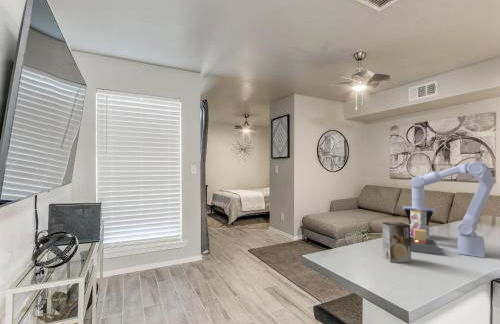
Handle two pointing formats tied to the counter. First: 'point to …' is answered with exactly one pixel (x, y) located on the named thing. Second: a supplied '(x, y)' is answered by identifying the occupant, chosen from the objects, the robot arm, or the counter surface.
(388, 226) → the coffee box
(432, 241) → the tote
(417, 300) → the counter surface
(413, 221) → the candy bar box
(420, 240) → the bean tin
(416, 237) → the tan block
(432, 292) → the counter surface
